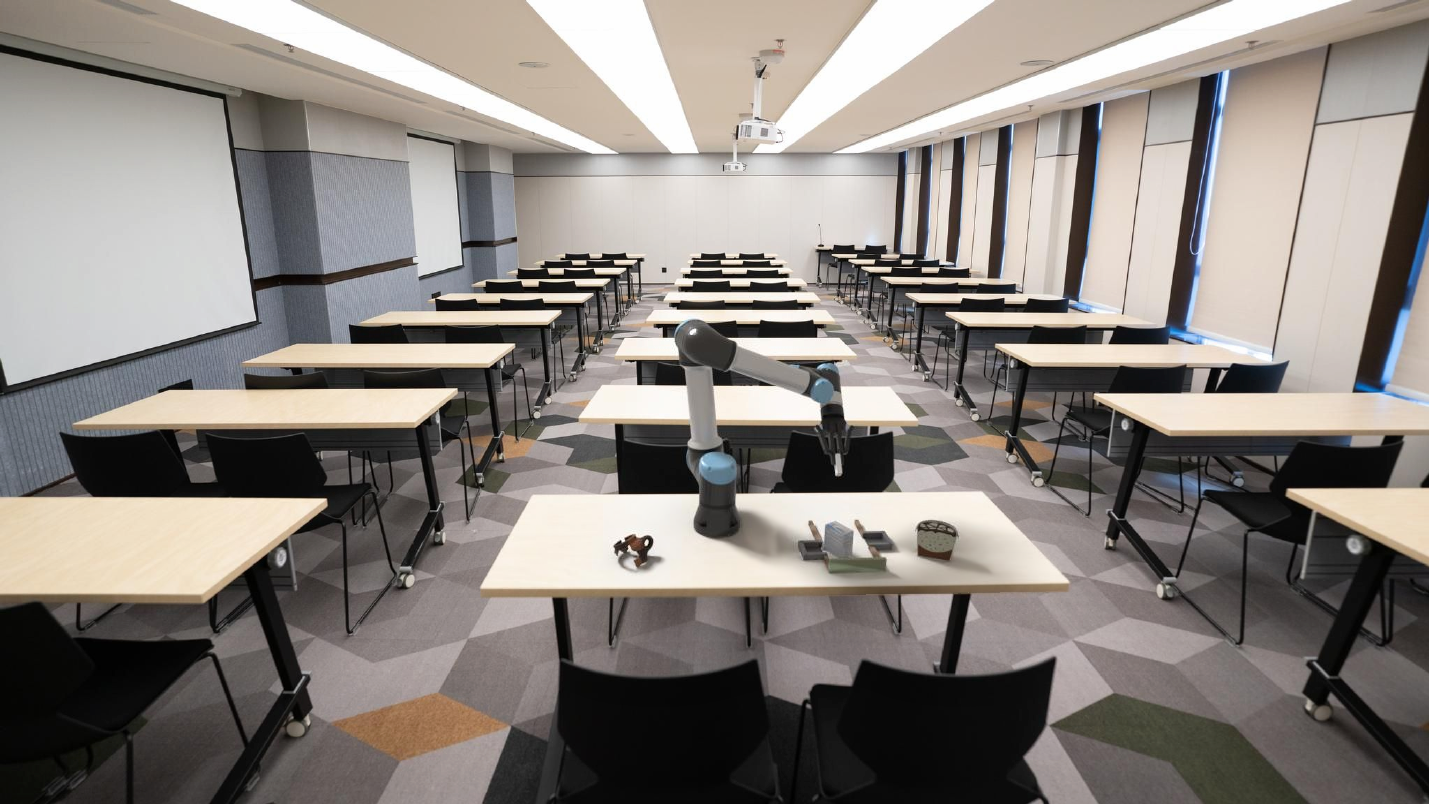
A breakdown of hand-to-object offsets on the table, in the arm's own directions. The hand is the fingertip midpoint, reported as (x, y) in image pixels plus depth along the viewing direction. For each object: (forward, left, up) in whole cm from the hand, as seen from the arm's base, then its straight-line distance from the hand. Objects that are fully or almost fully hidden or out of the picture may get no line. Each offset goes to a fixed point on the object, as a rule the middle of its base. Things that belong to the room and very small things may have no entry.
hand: (838, 474), depth 213 cm
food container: (+26, -18, -19) cm, 37 cm away
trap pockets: (0, -13, -19) cm, 23 cm away
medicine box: (-3, -16, -19) cm, 25 cm away
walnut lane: (0, -12, -19) cm, 22 cm away
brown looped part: (-63, -16, -19) cm, 68 cm away
